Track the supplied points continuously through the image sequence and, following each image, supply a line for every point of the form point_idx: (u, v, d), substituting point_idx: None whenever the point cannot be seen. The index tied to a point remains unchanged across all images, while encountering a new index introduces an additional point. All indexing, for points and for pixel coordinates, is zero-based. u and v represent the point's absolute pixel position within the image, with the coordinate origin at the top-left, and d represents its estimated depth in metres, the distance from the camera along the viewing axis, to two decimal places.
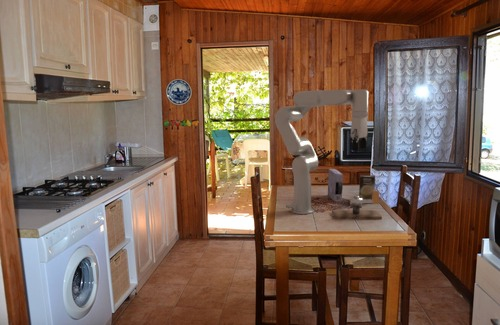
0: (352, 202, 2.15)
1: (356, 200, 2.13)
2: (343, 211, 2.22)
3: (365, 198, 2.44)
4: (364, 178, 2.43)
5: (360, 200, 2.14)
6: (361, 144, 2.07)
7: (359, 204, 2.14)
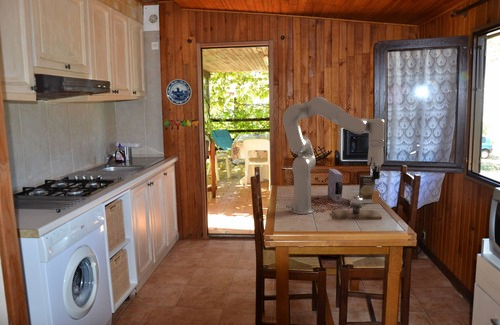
0: (352, 202, 2.15)
1: (356, 200, 2.13)
2: (343, 211, 2.22)
3: (365, 198, 2.44)
4: (364, 178, 2.43)
5: (360, 200, 2.14)
6: None
7: (359, 204, 2.14)
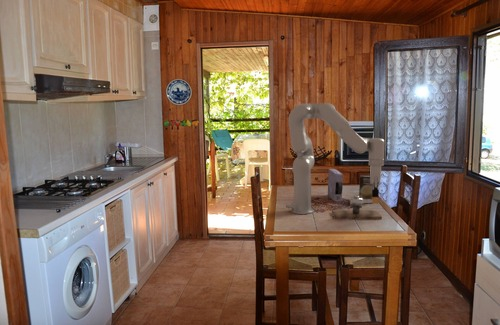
0: (352, 202, 2.15)
1: (357, 200, 2.13)
2: (343, 211, 2.22)
3: (365, 198, 2.44)
4: (364, 178, 2.43)
5: (360, 200, 2.14)
6: None
7: (359, 204, 2.14)
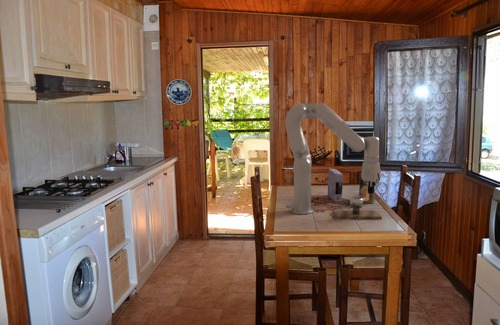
0: (357, 203, 2.14)
1: (361, 199, 2.14)
2: (343, 211, 2.22)
3: None
4: None
5: (362, 199, 2.16)
6: None
7: (362, 203, 2.16)
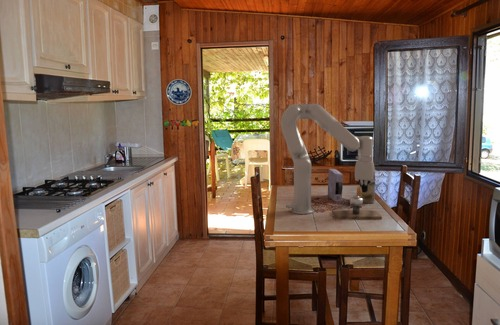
0: (359, 202, 2.14)
1: (362, 199, 2.15)
2: (343, 211, 2.22)
3: (365, 198, 2.44)
4: None
5: None
6: None
7: None
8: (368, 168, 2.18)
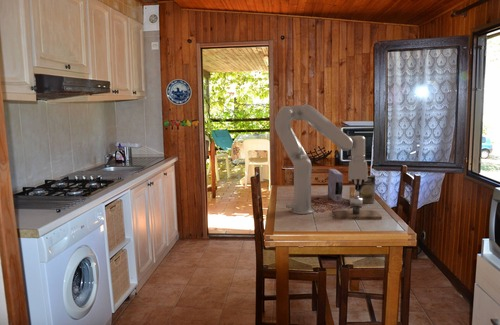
0: (361, 202, 2.14)
1: (362, 198, 2.16)
2: (343, 211, 2.22)
3: (365, 198, 2.44)
4: None
5: None
6: None
7: None
8: (363, 167, 2.20)
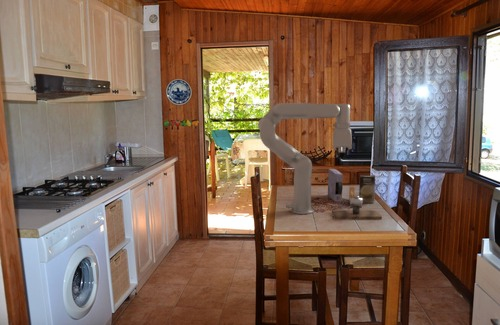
0: (361, 202, 2.14)
1: (362, 198, 2.16)
2: (343, 211, 2.22)
3: (365, 198, 2.44)
4: (364, 178, 2.43)
5: None
6: None
7: None
8: (347, 135, 2.21)
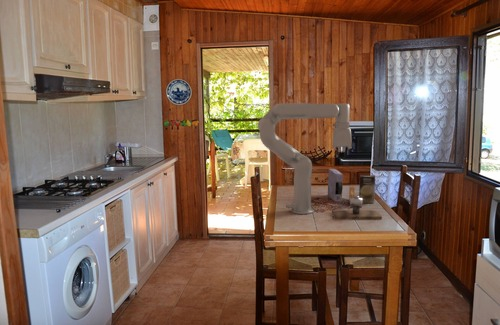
0: (361, 202, 2.14)
1: (362, 198, 2.16)
2: (343, 211, 2.22)
3: (365, 198, 2.44)
4: (364, 178, 2.43)
5: None
6: None
7: None
8: (347, 134, 2.21)
